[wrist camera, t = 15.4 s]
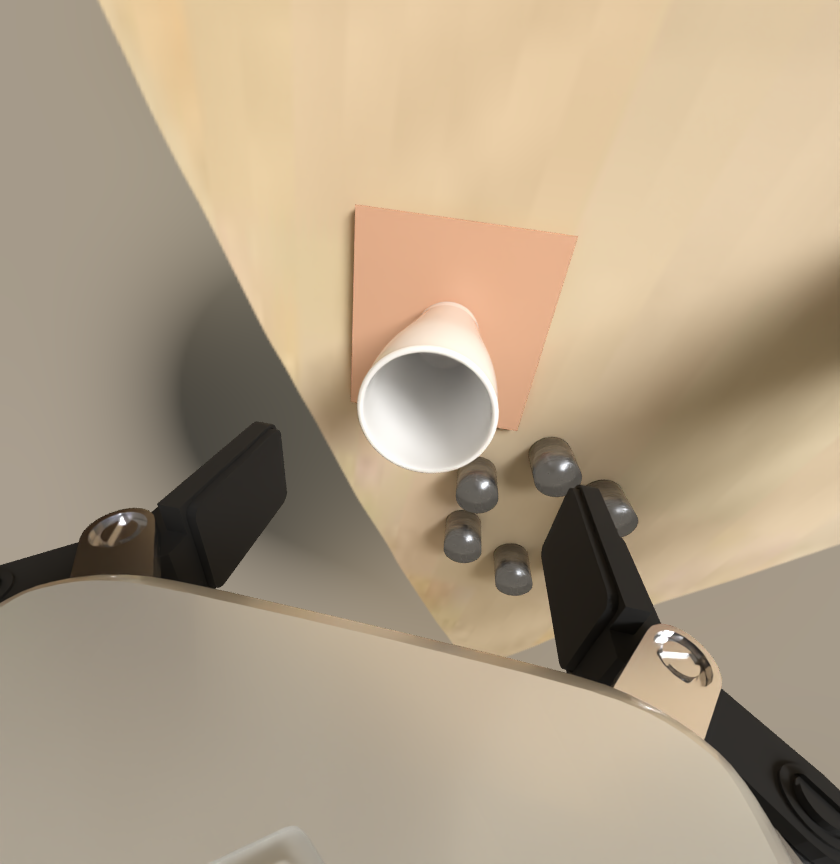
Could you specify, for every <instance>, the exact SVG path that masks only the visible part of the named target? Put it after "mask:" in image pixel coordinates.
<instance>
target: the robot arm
mask: <svg viewBox="0 0 840 864" xmlns="http://www.w3.org/2000/svg"><path fill="white" fill-rule="evenodd" d="M286 494H287V491H286V480H285V471H284V461H283V451H282V441H281V433H280V431H279V430H276V427H275V426H274V425H273V424H268V423H263V422H254V423H252V424H251V425H250V426H249V427H248V428H247V429H245V430H244V431H243V432H242V433H241V434H239V435H238V436H237V437H236V438H235V439H233V440H232V441H231V442H230V443H229V444H228V445H226V446H225V447H224V448H223V449H222V450H220V451H219V452H218V453H217V454H216V455H214V456H213V457H212V458H211V459H210V460H209V461H208V462H206V463H205V464H204V465H203V466H201V467H200V468H199V469H198V470H197V471H196V472H195V473H193V474H192V475H191V476H190V477H188V478H187V479H186V480H185V481H184V482H182V483H181V484H180V485H179V486H178V487H177V488H175V489H174V490H173V491H172V492H171V493H169V494H168V495H167V496H166V497H165V498H164V499H162V500H161V501H160V502H159V503H158V504H157V505H158V507H157V508H156V509H155V510H154V511H152V512H150V511H149V510H146V509H142V508H128V509H122V510H118V511H115V512H112V513H109V514H107V515H105V516H102V517H100V518H99V519H97V520H96V521H94V522H93V523H91V524H90V525H89V526H88V527H87V528H86V529H85V530H84V531H83V533H82V535H81V537H80V539H79V542H78V543H74V544H71V545H67V546H65V547H61V548H57V549H54V550H51V551H47V552H44V553H41V554H37V555H34V556H30V557H27V558H23V559H20V560H17V561H13V562H10V563H6V564H3V565H0V864H840V790H839V789H838V788H837V787H835V785H834V784H832V783H831V782H830V781H829V780H828V779H827V778H826V777H825V776H824V775H823V774H822V773H821V772H819V771H818V770H817V769H816V768H815V767H814V766H812V765H811V764H810V763H808V761H806V760H805V759H804V758H803V757H802V756H801V755H799V754H798V753H797V752H796V751H795V750H793V749H792V748H791V747H790V746H789V745H787V744H786V743H785V742H784V741H783V740H782V739H780V738H779V737H778V736H777V735H776V734H774V733H773V732H772V731H771V730H770V729H769V728H767V727H766V726H765V725H764V724H763V723H762V722H760V721H759V720H758V719H757V718H755V717H754V716H753V715H752V714H751V713H750V712H749V711H747V710H746V709H745V708H744V707H743V706H741V705H740V704H739V703H738V702H737V701H735V700H734V699H733V698H732V697H731V696H730V695H728V694H727V693H726V692H725V691H723V689H721V685H722V677H721V674H720V670H719V667H718V666H717V664H716V662H715V661H714V659H713V657H712V656H711V655H710V654H709V652H708V651H707V650H706V649H705V648H704V647H703V645H701V644H700V643H699V642H698V641H697V640H696V639H694V638H693V637H692V636H690V635H689V634H687V633H686V632H684V631H682V630H681V629H678V628H676V627H673V626H671V625H666V624H661V623H660V620H659V618H658V616H657V613H656V611H655V609H654V607H653V604H652V602H651V600H650V598H649V595H648V593H647V591H646V589H645V586H644V584H643V582H642V580H641V577H640V575H639V573H638V570H637V568H636V566H635V564H634V561H633V559H632V557H631V555H630V552H629V550H628V548H627V546H626V543H625V542H624V540H623V539H622V538H621V537H620V536H619V534H618V532H617V529H616V527H615V525H614V522H613V520H612V518H611V515H610V513H609V511H608V508H607V506H606V504H605V501H604V499H603V497H602V494H601V492H600V490H599V489H598V488H595V487H590V486H585V485H580V484H579V485H577V486H575V488H569V490H568V491H567V494H566V496H565V498H564V500H563V502H562V505H561V507H560V509H559V511H558V513H557V516H556V518H555V520H554V522H553V524H552V527H551V529H550V531H549V533H548V535H547V538H546V540H545V542H544V544H543V547H542V552H541V557H542V564H543V570H544V576H545V582H546V587H547V593H548V599H549V605H550V611H551V617H552V623H553V629H554V635H555V640H556V647H557V653H558V659H559V664H560V666H561V668H562V669H565V670H566V671H567V673H565V672H561V671H556V670H553V669H549V668H545V667H541V666H538V665H534V664H530V663H526V662H522V661H518V660H514V659H511V658H506V657H502V656H498V655H494V654H490V653H486V652H482V651H477V650H473V649H469V648H465V647H461V646H457V645H453V644H448V643H444V642H440V641H436V640H432V639H428V638H423V637H420V636H415V635H411V634H407V633H403V632H398V631H394V630H390V629H386V628H381V627H377V626H373V625H369V624H364V623H360V622H356V621H352V620H348V619H343V618H339V617H334V616H330V615H326V614H322V613H317V612H314V611H309V610H304V609H300V608H296V607H291V606H287V605H283V604H279V603H274V602H270V601H266V600H261V599H257V598H253V597H248V596H244V595H239V594H235V593H231V592H226V591H222V590H217V589H216V587H217V588H219V587H221V586H223V584H224V583H225V582H226V581H227V579H228V578H229V576H230V575H231V574H232V573H233V571H234V570H235V568H236V567H237V566H238V564H239V563H240V561H241V560H242V559H243V558H244V556H245V555H246V553H247V552H248V551H249V549H250V548H251V547H252V545H253V544H254V542H255V541H256V540H257V538H258V537H259V536H260V534H261V533H262V531H263V530H264V529H265V527H266V526H267V525H268V523H269V522H270V521H271V519H272V518H273V517H274V515H275V514H276V512H277V511H278V510H279V508H280V507H281V505H282V504H283V503H284V501H285V498H286Z"/></svg>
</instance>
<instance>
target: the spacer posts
mask: <svg viewBox="0 0 840 864" xmlns="http://www.w3.org/2000/svg"><path fill="white" fill-rule="evenodd" d="M529 461H530V465H531V469H532V473H533V478H534V482H535V486H536V488H537V489H538V490H539V491H540V492H541V493H543V494H545V495H547V496H552V497H561V496H565V495H566V494H567V491H568V490H569V488H575V486H577V485H579V484H580V483H581V480H582V475H581V472H580V469H579V467H578V465H577V462H576V460H575V458H574V455H573V453H572V451H571V448H570V446H569V445H568V443H566V442H565V441H564V440H562V439H560V438H555V437H548V438H544V439H541V440H539V441H537V442H536V443H535V444H534V445H533V446H532V447H531V449H530V451H529ZM587 486H590V487H595V488H598V489H599V490H600V492H601V494H602V497H603V499H604V501H605V504H606V506H607V508H608V511H609V513H610V515H611V518H612V520H613V522H614V525H615V527H616V529H617V532H618V534H619V536H620V537H624V536H626V535H628V534H630V533H631V532H632V531H633V530H634V529H635V528H636V527H637V524H638V518H637V515H636V514H635V512H634V510H633V508H632V507H631V505H630V503H629V501H628V499H627V498H626V496H625V494H624V492H623V490H622V489H621V487H620V486H619V485H618V484H617V483H615V482H613V481H610V480H598V481H595V482H592V483H590V484H588V485H587ZM456 500H457V503H458V504H459V506H460V507H462V508H463V509H464V510H459V511H455V512H453V513H451V514H450V515H449V516H448V518H447V521H446V530H445V540H444V552H445V554H446V556H447V557H448V558H450V559H451V560H453V561H456V562H459V563H469V562H473V561H475V560H477V559H478V558H479V557H480V555H481V521H480V519H479V517H478V516H477V515H476V514H474V513H484V512H487V511H489V510H491V509H493V508H494V507H495V505H496V504H497V502H498V488H497V476H496V469H495V466H494V465H493V463H492V462H491V461H489V460H488V459H485V458H482V457H477V458H476V459H475V460H473V461H472V462H470V463H469V464H467V465H465V466H463V467H461V468H458V475H457V488H456ZM494 566H495V584H496V587H497V589H498V590H499V591H501V592H502V593H504V594H507V595H512V596H518V595H523V594H525V593H527V592H529V591H530V590H531V588H532V578H531V571H530V565H529V559H528V553H527V551H526V550H525V549H524V548H523V547H522V546H520V545H517V544H504V545H501V546H499V547H498V548H497V549H496V550H495V552H494Z"/></svg>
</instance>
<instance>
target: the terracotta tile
mask: <svg viewBox="0 0 840 864" xmlns="http://www.w3.org/2000/svg"><path fill="white" fill-rule="evenodd" d="M577 238H578V236H572V235H565V234H558V233H551V232H544V231H537V230H530V229H523V228H516V227H509V226H502V225H495V224H488V223H482V222H475V221H468V220H461V219H454V218H447V217H440V216H433V215H426V214H419V213H412V212H405V211H398V210H391V209H384V208H377V207H370V206H363V205H356V204H355V240H354V284H353V328H352V373H351V402H355V403H357V399H358V393H359V389H360V386H361V384H362V381H363V379H364V377H365V376H366V374H367V373H368V371H369V369H370V367H371V366H372V364H373V362H374V361H375V359H376V358H377V356H378V355H379V353H380V352H381V351H382V350H383V348H384V347H385V346H386V345H387V344H388V343H389V341H390V340H391V339H392V338H393V337H395V336H396V335H397V334H398V333H399V332H400V331H402V330H403V329H404V328H405V327H407V326H408V325H409V324H411V323H412V322H413V321H414V320H416V319H417V318H418V317H419V316H420V315H421V314H422V312H423V311H424V310H425V309H427V308H428V307H430V306H431V305H433V304H436V303H439V302H446V301H448V302H455V303H458V304H461V305H463V306H464V307H466V308H467V309H468V310H469V311H470V312H471V313H472V314H473V315H474V317H475V318H476V320H477V323H478V326H479V331H480V334H481V337H482V339H483V341H484V343H485V346H486V348H487V350H488V353H489V355H490V357H491V360H492V363H493V366H494V370H495V375H496V380H497V388H498V408H499V418H498V424H497V428H503V429H508V430H514V431H517V430H518V427H519V423H520V420H521V417H522V414H523V411H524V407H525V404H526V401H527V398H528V395H529V391H530V388H531V385H532V382H533V379H534V375H535V372H536V369H537V366H538V363H539V360H540V356H541V353H542V350H543V347H544V344H545V340H546V337H547V334H548V331H549V328H550V324H551V321H552V318H553V315H554V312H555V309H556V305H557V302H558V299H559V296H560V293H561V289H562V286H563V283H564V280H565V277H566V273H567V270H568V267H569V264H570V261H571V257H572V254H573V251H574V248H575V245H576V242H577Z"/></svg>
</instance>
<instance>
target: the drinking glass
mask: <svg viewBox="0 0 840 864" xmlns="http://www.w3.org/2000/svg"><path fill="white" fill-rule="evenodd" d="M357 412H358V418H359V422H360V426H361V428H362V430H363V433H364V435H365V436H366V438H367V440H368V441H369V443H370V444H371V445H372V446H373V448H374V449H375V450H376V451H377V452H378V453H380V454H381V455H382V456H383V457H384V458H386V459H387V460H389V461H390V462H392V463H394V464H396V465H397V466H400V467H402V468H405V469H408V470H411V471H415V472H421V473H442V472H448V471H452V470H455V469H458V468H461V467H463V466H465V465H467V464H469V463H470V462H472V461H473V460H475V459H476V458H477V457H478V456H479V455H480V454H481V453H482V452H483V451H484V450H485V449H486V448H487V447H488V445H489V444H490V442H491V440H492V438H493V436H494V434H495V431H496V428H497V424H498V418H499V408H498V388H497V380H496V375H495V370H494V366H493V363H492V360H491V357H490V355H489V353H488V350H487V348H486V346H485V343H484V341H483V339H482V337H481V334H480V331H479V326H478V323H477V320H476V318H475V317H474V315H473V314H472V313H471V312H470V311H469V310H468V309H467V308H466V307H464V306H463V305H461V304H458V303H455V302H448V301H446V302H439V303H436V304H433V305H431V306H430V307H428V308H427V309H425V310H424V311H423V312H422V314H421V315H420V316H419V317H418V318H417V319H416V320H414V321H413V322H412V323H411V324H409V325H408V326H407V327H405V328H404V329H403V330H402V331H400V332H399V333H398V334H397V335H396V336H395V337H393V338H392V339H391V340H390V341H389V343H388V344H387V345H386V346H385V347H384V348H383V350H382V351H381V352H380V353H379V355H378V356H377V358H376V359H375V361H374V362H373V364H372V366H371V367H370V369H369V371H368V373H367V374H366V376H365V377H364V379H363V381H362V384H361V386H360V389H359V393H358V399H357Z"/></svg>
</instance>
